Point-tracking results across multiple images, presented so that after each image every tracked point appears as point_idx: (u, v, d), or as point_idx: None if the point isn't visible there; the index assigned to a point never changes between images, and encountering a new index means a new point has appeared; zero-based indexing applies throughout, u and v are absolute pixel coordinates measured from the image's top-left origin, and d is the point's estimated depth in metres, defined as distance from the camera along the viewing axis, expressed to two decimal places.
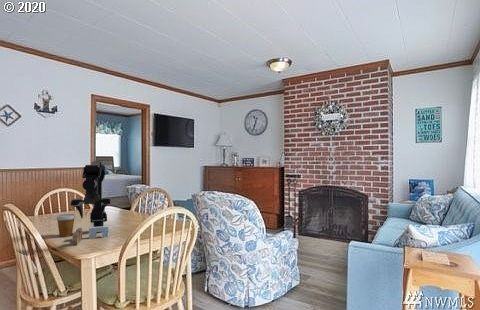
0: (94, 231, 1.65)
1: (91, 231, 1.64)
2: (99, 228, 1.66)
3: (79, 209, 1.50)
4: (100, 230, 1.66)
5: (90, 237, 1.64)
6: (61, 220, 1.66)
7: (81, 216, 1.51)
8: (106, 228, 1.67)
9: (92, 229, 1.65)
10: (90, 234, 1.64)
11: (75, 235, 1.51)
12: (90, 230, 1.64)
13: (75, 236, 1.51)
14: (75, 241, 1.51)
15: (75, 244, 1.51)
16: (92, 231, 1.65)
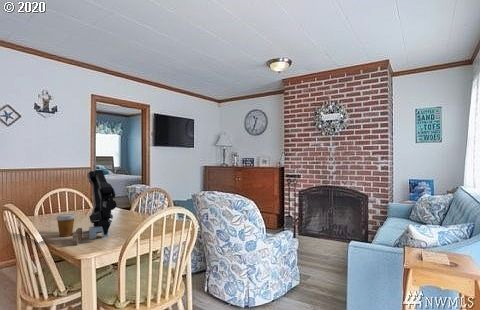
0: (94, 231, 1.65)
1: (91, 231, 1.64)
2: (99, 228, 1.66)
3: None
4: (100, 230, 1.66)
5: (90, 237, 1.64)
6: (61, 220, 1.66)
7: None
8: None
9: (92, 229, 1.65)
10: (90, 234, 1.64)
11: (75, 235, 1.51)
12: (90, 230, 1.64)
13: (75, 236, 1.51)
14: (75, 241, 1.51)
15: (75, 244, 1.51)
16: (92, 231, 1.65)
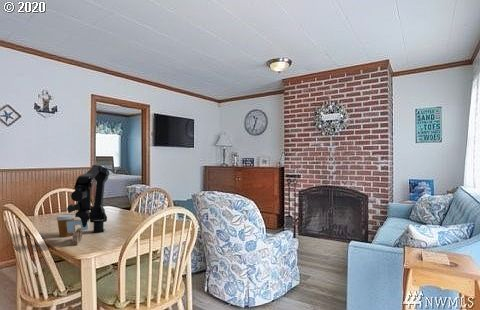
0: (72, 225, 1.56)
1: (69, 225, 1.55)
2: (77, 221, 1.57)
3: None
4: (78, 223, 1.57)
5: (68, 231, 1.55)
6: (61, 220, 1.66)
7: None
8: None
9: (70, 223, 1.56)
10: (68, 228, 1.55)
11: (75, 235, 1.51)
12: (67, 224, 1.55)
13: (75, 236, 1.51)
14: (75, 241, 1.51)
15: (75, 244, 1.51)
16: (70, 225, 1.56)
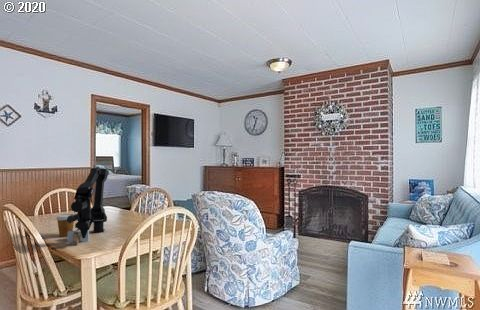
0: None
1: (70, 235, 1.56)
2: None
3: None
4: (79, 234, 1.57)
5: (69, 242, 1.55)
6: (61, 220, 1.66)
7: None
8: None
9: (71, 233, 1.56)
10: (69, 238, 1.55)
11: (75, 235, 1.51)
12: (69, 234, 1.55)
13: (75, 236, 1.51)
14: (75, 241, 1.51)
15: (75, 244, 1.51)
16: (71, 235, 1.56)
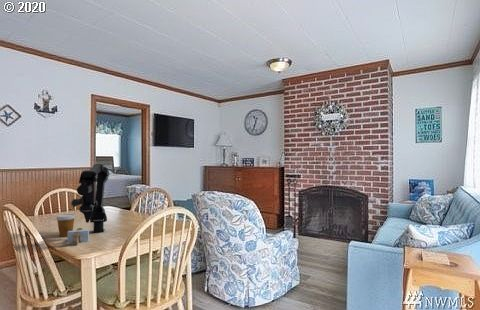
0: None
1: (70, 235, 1.56)
2: None
3: None
4: (79, 234, 1.57)
5: (69, 242, 1.55)
6: (61, 220, 1.66)
7: None
8: (86, 232, 1.58)
9: (71, 233, 1.56)
10: (69, 238, 1.55)
11: (75, 235, 1.51)
12: (69, 234, 1.55)
13: (75, 236, 1.51)
14: (75, 241, 1.51)
15: (75, 244, 1.51)
16: (71, 235, 1.56)
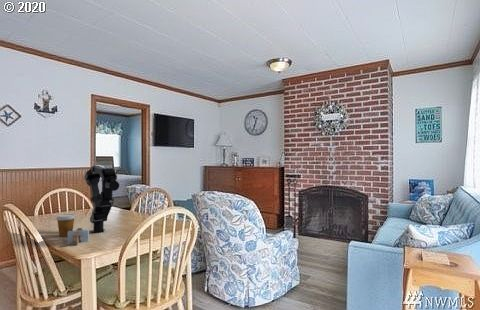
0: None
1: (70, 235, 1.56)
2: None
3: None
4: (79, 234, 1.57)
5: (69, 242, 1.55)
6: (61, 220, 1.66)
7: None
8: (86, 232, 1.58)
9: (71, 233, 1.56)
10: (69, 238, 1.55)
11: (75, 235, 1.51)
12: (69, 234, 1.55)
13: (75, 236, 1.51)
14: (75, 241, 1.51)
15: (75, 244, 1.51)
16: (71, 235, 1.56)
